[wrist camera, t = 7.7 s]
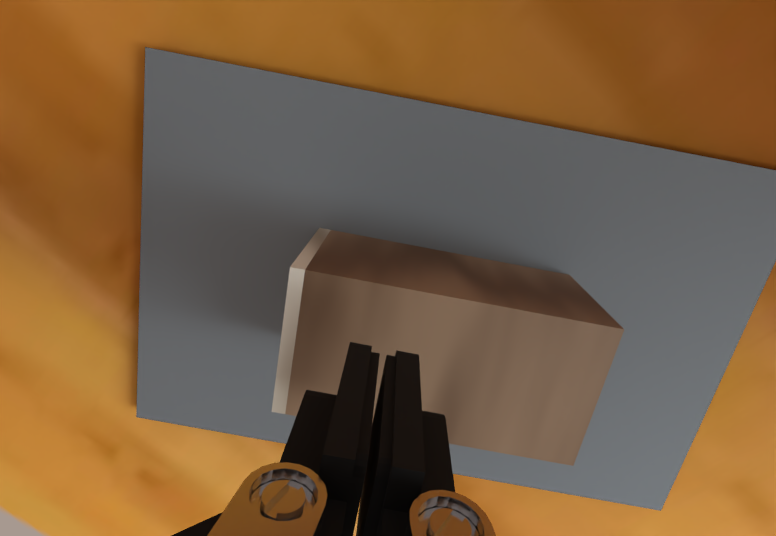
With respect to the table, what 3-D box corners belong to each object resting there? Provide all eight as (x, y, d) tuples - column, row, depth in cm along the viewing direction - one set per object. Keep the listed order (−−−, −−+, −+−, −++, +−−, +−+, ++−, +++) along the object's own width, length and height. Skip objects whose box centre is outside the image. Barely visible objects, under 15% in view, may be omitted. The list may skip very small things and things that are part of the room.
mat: (800, 175, 16) (814, 178, 16) (653, 499, 21) (660, 510, 20) (154, 49, 16) (145, 47, 15) (143, 408, 20) (136, 416, 20)
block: (319, 227, 17) (569, 275, 17) (303, 341, 18) (534, 383, 18) (290, 267, 13) (624, 329, 13) (271, 411, 14) (573, 465, 14)
